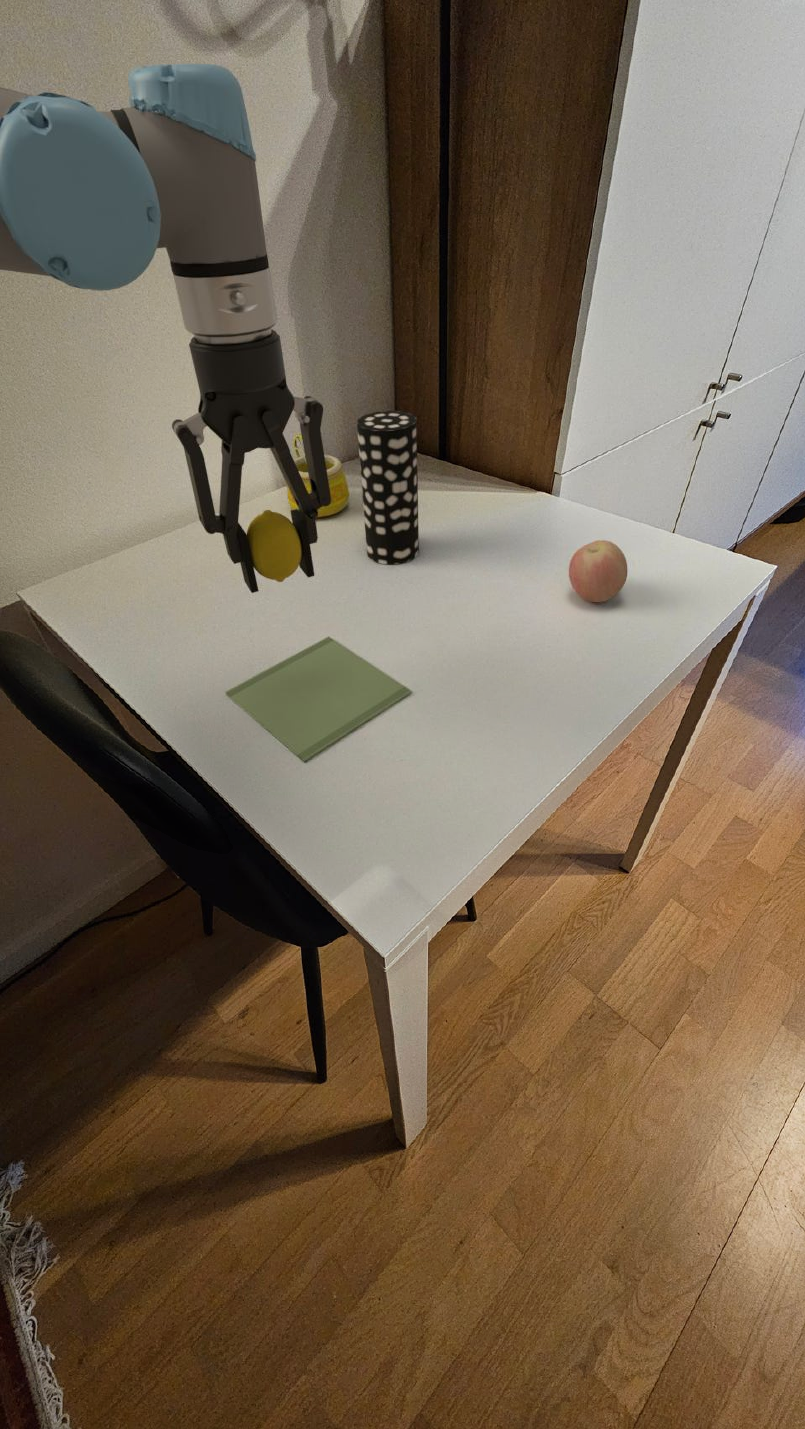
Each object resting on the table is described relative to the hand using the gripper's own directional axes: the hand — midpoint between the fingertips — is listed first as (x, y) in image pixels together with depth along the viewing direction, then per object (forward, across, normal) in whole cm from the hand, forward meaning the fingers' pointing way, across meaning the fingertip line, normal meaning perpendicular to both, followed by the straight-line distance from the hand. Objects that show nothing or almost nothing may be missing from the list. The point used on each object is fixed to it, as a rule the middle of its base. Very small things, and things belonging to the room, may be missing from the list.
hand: (279, 578), depth 68 cm
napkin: (+14, +1, -3) cm, 15 cm away
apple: (+15, +43, -3) cm, 46 cm away
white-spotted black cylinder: (+15, +24, +24) cm, 37 cm away
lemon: (+1, 0, 0) cm, 1 cm away
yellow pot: (+15, +20, +46) cm, 52 cm away
